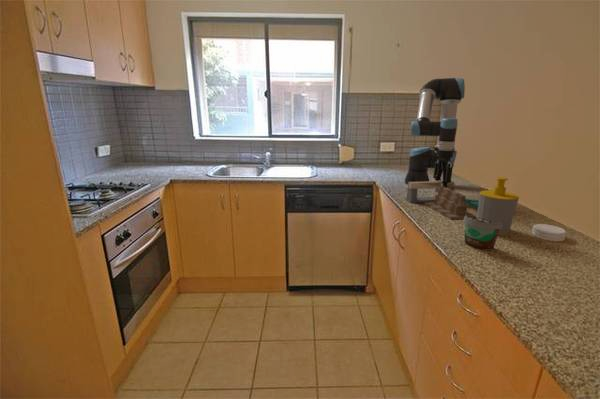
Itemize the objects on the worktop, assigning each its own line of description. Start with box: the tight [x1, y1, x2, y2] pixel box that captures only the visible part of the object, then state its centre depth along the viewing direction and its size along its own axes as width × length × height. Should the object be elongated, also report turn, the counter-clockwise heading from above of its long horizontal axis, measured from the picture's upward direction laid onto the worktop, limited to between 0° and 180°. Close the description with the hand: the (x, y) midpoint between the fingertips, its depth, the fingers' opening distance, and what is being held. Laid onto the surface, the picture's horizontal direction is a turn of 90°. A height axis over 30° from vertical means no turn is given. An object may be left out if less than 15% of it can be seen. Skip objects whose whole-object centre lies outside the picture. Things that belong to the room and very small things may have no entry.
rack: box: [404, 187, 455, 204], centre depth 163 cm, size 6×24×7 cm, turn 97°
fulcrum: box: [424, 186, 477, 220], centre depth 146 cm, size 22×12×10 cm, turn 7°
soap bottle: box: [476, 176, 520, 236], centre depth 122 cm, size 13×13×21 cm
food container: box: [462, 214, 503, 251], centre depth 108 cm, size 12×6×10 cm, turn 45°
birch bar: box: [407, 180, 456, 190], centre depth 162 cm, size 3×24×3 cm, turn 97°
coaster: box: [531, 223, 567, 242], centre depth 118 cm, size 10×10×4 cm
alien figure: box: [465, 197, 479, 209], centre depth 157 cm, size 20×2×20 cm
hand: (439, 193), depth 164 cm, fingers open, 5 cm apart
